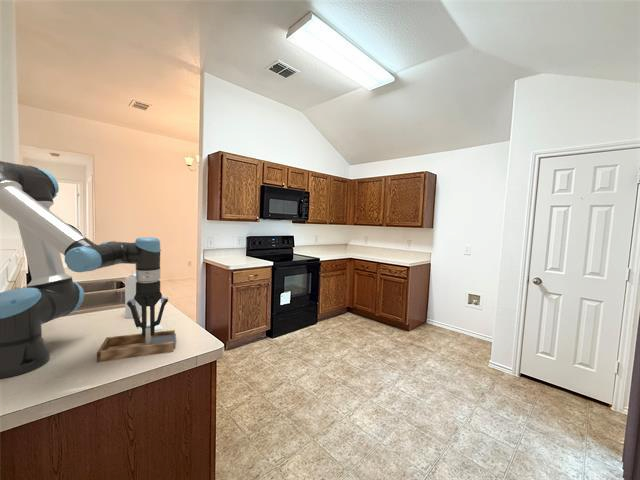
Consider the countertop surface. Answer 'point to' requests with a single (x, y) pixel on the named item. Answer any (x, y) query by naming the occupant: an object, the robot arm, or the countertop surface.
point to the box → (131, 346)
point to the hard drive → (157, 327)
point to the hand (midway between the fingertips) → (148, 344)
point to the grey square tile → (164, 339)
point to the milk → (131, 295)
